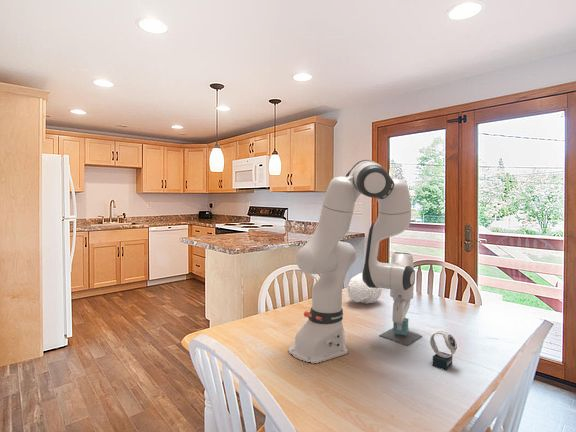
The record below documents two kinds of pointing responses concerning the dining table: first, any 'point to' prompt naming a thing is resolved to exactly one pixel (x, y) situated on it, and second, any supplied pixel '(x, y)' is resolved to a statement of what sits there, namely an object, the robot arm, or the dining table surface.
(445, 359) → the watch
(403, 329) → the letter cube
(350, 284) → the cauliflower
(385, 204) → the robot arm
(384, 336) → the pad
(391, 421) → the dining table surface
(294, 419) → the dining table surface
